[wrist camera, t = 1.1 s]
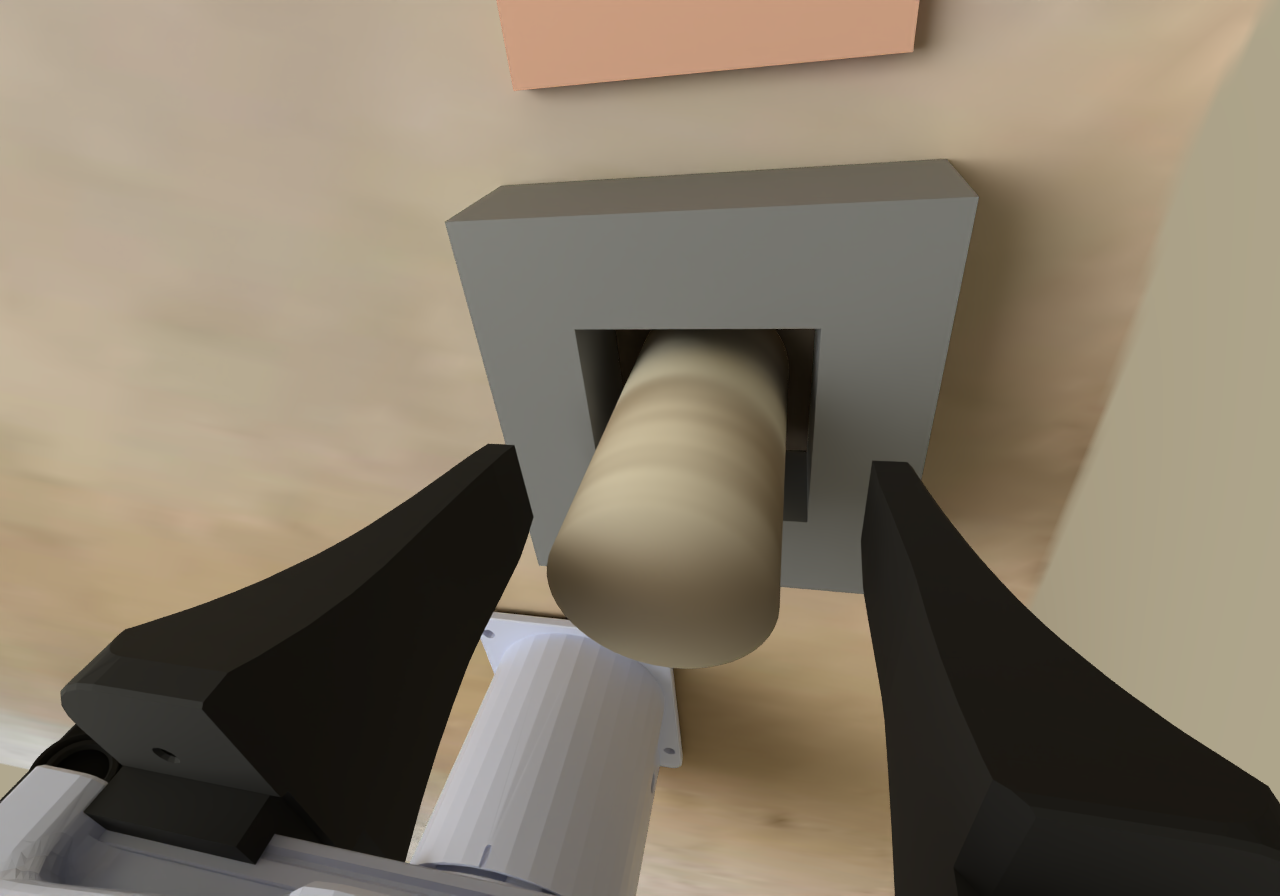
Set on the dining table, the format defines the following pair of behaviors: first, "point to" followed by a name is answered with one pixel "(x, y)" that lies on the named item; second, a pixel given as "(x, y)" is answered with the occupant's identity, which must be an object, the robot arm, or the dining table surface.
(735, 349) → the peg
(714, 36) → the pad
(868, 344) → the pocket block
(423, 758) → the robot arm
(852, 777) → the dining table surface
